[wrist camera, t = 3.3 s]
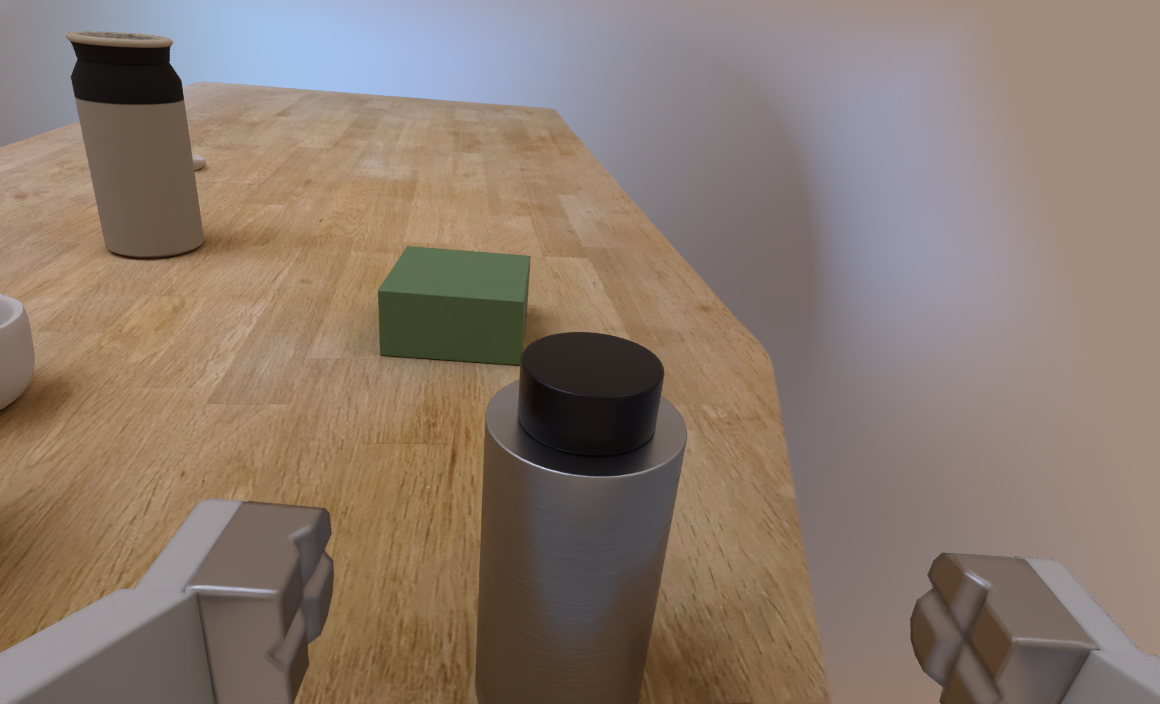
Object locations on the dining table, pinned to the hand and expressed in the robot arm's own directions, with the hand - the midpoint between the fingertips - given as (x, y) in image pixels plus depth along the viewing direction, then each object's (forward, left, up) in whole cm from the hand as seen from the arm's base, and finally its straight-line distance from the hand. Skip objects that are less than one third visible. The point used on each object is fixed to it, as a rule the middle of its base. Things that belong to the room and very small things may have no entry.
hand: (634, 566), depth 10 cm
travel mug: (+38, -58, -17) cm, 71 cm away
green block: (+8, -44, -17) cm, 47 cm away
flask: (0, -12, -17) cm, 21 cm away
